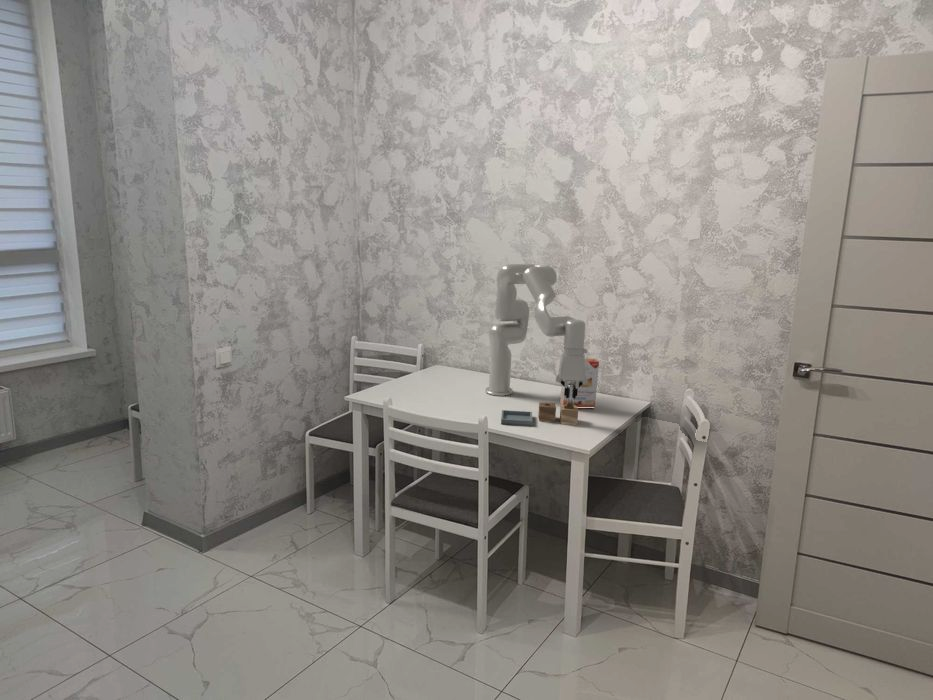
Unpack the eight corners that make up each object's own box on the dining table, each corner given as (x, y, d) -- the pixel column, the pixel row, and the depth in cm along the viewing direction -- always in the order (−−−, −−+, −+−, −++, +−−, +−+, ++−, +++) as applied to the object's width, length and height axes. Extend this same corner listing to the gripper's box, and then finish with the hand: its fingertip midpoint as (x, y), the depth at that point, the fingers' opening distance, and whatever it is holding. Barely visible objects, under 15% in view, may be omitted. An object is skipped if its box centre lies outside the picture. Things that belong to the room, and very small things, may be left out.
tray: (501, 414, 259) (502, 410, 259) (531, 416, 258) (531, 411, 258) (501, 424, 247) (501, 419, 247) (532, 426, 247) (532, 421, 246)
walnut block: (538, 416, 259) (539, 402, 258) (554, 417, 259) (555, 403, 258) (538, 421, 253) (539, 406, 252) (555, 422, 253) (556, 407, 251)
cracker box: (563, 409, 270) (566, 360, 266) (559, 404, 276) (563, 357, 271) (595, 409, 271) (599, 361, 267) (591, 405, 277) (595, 358, 273)
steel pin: (566, 404, 253) (568, 382, 251) (572, 405, 253) (574, 383, 251) (567, 406, 251) (568, 384, 249) (573, 406, 250) (574, 384, 249)
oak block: (559, 419, 257) (560, 404, 255) (575, 420, 256) (576, 405, 255) (560, 424, 250) (561, 409, 249) (577, 425, 250) (578, 410, 249)
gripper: (593, 350, 250) (590, 396, 254) (552, 348, 252) (549, 394, 255) (595, 354, 243) (592, 401, 247) (553, 352, 244) (550, 399, 248)
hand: (570, 397), depth 251 cm, fingers closed on steel pin, 2 cm apart
